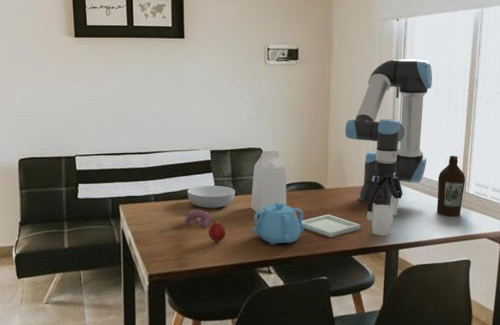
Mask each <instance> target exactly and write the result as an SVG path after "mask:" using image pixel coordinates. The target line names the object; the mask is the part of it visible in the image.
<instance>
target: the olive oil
mask: <svg viewBox="0 0 500 325" xmlns="http://www.w3.org/2000/svg"><path fill="white" fill-rule="evenodd" d="M458 160H459V159H458V156H457V155H450V156H449V160H448V165H447V166H446V167H444V168H443V169H442V170H441V171H440V173H439V175H438V181H437V182H438V183H437V184H438V185H437V191H438V192H437V207H436V208H437V209H436V211H437V214H439V215H442V216H447V217H457V216H458V217H459V216H461V211H462V203H463V197H464V196H463V194H464V189H465V184H466V183H465V182H466V176H465V173H464V172H463V171H462V170H461V168H460V167H459V165H458Z"/></svg>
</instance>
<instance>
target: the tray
mask: <svg viewBox="0 0 500 325" xmlns="http://www.w3.org/2000/svg"><path fill="white" fill-rule="evenodd" d="M301 224H303V225H304V230H305V229H306V230H308V231H311V232H314V233H317V234H320V235H321V236H325V237H328V238H334V237H337V236H340V235H344V234H348V233H352V232H356V231H359V230H361V227H362V224H360V223H356V222H353V221H350V220H347V219H344V218H340V217H337V216H335V215H331V214H328V213H327V214H325V215H321V216H320V215H319V216H316V217H312V218H308V219H303V220H302V222H301ZM300 228H302V226H300Z"/></svg>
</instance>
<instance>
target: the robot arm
mask: <svg viewBox="0 0 500 325" xmlns="http://www.w3.org/2000/svg"><path fill="white" fill-rule="evenodd" d="M367 84H368V87H367V89H366V91H365V95H364V97H363V99H362V101H361V104H360V106H359V109H358V111H357V114H356V116H355V119H348V120H347V122H346V124H345V133H344V134H345V136H346V138H347V139H351V140H356V141H357V140H358V141H370V142H371V141H372V142H376V150H373V151H369V152H367V153H366V155H365V158H364V159H365V161H364V175H363V185H362V186H361V189H360V192H359V195H358V200H359V201H361V202H363V203H367V204H366V205H367V206H366V211H367V212H366V213H367V214H366V220H368V221H371V222H372V221H374V215H375V205H388V204H390V205H389V206H391V207H393V208H394V211H393V216H397V214H398V207H399V199H401V198H402V196H403V190H402V189H403V188H402V186H401V182H406V183H412V184H413V183H415V184H418V183H420V182H421V181H422V180H423V177H424V175H425V174H424V173H425V169H426V165H427V158H426V157H424V153H423V151H422V150H421V134H422V120H423V105H424V96H425V95H427V93H428V89H431V88H432V86H433V72H432V66H431V63H430V62H429V61H427V60H422V59H391V60H388V61H387V60H386V61H385V62H382V63H381V64H379V65H378V66H377V67H376V68H375V69H374V70H373V71H372V72H371V74H370V76H369V78H368V82H367ZM392 87H393V88H399V89H398V90H399V93H400V95H402V100H401V101H402V103H401V104H402V105H401V120H400V121H399V120H397V119H389V118H385V119H384V118H383V119H380V120H379V121H376V119H377V116H378V113H379V110H380V107H381V105H382V103H383V100H384V98H385V95H386V93H387V91H390V88H392ZM398 147H399V149H398Z"/></svg>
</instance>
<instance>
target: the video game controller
mask: <svg viewBox="0 0 500 325" xmlns="http://www.w3.org/2000/svg"><path fill="white" fill-rule="evenodd" d="M198 218H199V220H198ZM211 219H212V215H211V214H210V213H209V212H207V211H205V210H201V209H194V210H189V212H187V214H186V217H185V218H184V220H183V225H184V226H188V225H189V224H190V222H191V224H192V225H198V224H199V225H200V226H203V228H204V229H207V228H208V227H209V224H210V222H211Z"/></svg>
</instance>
